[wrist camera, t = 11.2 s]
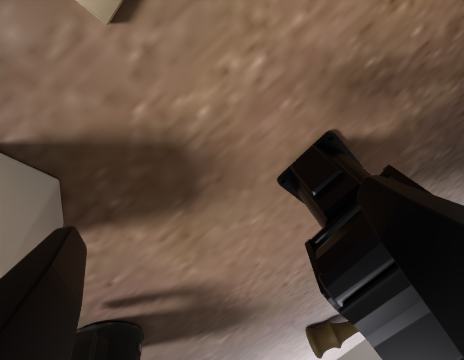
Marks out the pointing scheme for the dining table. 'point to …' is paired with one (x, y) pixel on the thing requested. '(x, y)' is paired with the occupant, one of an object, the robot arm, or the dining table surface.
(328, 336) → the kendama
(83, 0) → the knob on square plate
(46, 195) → the jar
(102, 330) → the milk frother
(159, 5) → the dining table surface
